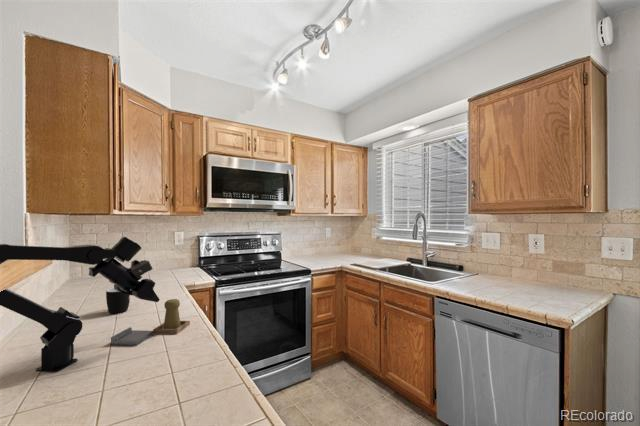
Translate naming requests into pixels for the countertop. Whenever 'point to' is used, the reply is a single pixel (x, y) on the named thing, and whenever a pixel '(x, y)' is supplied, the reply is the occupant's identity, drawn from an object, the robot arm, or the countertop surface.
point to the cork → (172, 314)
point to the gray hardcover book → (130, 337)
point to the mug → (117, 301)
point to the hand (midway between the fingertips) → (152, 298)
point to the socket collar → (171, 331)
